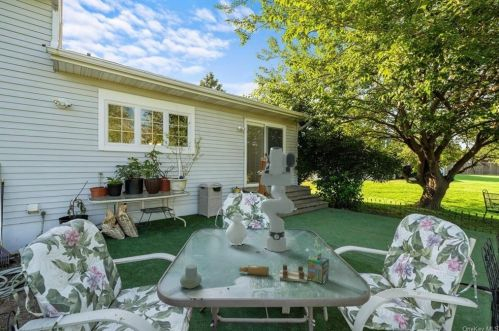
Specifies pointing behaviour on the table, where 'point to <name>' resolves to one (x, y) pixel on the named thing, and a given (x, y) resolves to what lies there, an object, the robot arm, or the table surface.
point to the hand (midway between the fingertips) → (275, 192)
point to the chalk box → (318, 268)
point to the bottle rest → (293, 274)
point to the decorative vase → (236, 230)
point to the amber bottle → (255, 270)
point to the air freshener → (190, 277)
